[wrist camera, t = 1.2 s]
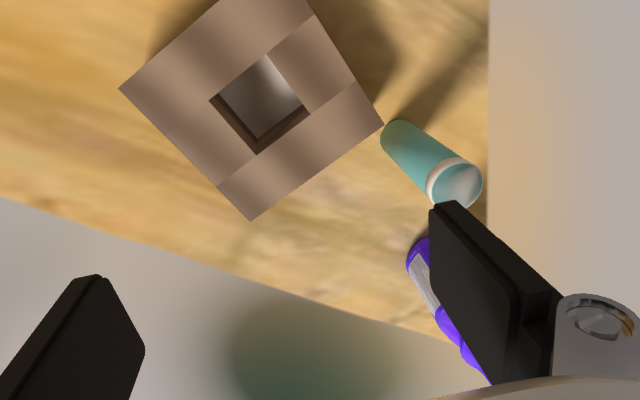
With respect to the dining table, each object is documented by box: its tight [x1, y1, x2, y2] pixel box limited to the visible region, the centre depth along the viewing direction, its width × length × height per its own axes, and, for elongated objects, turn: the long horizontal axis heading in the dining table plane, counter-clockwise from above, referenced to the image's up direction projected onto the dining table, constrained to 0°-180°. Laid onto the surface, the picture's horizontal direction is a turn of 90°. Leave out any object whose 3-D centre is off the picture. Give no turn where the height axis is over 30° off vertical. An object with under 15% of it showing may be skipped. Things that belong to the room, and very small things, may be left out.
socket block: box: [118, 0, 385, 222], centre depth 29 cm, size 14×14×5 cm
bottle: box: [406, 237, 492, 386], centre depth 34 cm, size 7×6×17 cm
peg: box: [380, 119, 483, 208], centre depth 29 cm, size 4×4×12 cm
